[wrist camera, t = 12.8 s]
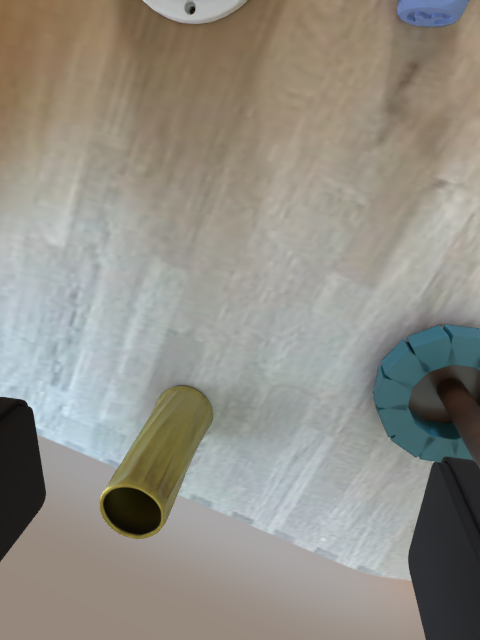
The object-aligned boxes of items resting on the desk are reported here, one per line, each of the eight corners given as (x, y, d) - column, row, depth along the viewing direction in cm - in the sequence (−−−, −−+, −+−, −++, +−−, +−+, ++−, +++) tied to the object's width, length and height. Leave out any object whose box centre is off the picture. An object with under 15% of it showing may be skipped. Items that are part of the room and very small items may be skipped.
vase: (224, 410, 44) (186, 514, 31) (191, 445, 46) (141, 556, 33) (178, 374, 43) (119, 464, 30) (146, 411, 46) (78, 510, 32)
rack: (411, 339, 38) (468, 438, 24) (505, 350, 37) (620, 460, 23) (394, 415, 41) (436, 542, 27) (481, 427, 40) (571, 566, 26)
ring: (388, 317, 37) (393, 327, 35) (538, 335, 35) (554, 347, 33) (364, 434, 41) (367, 451, 39) (496, 455, 40) (508, 473, 37)
